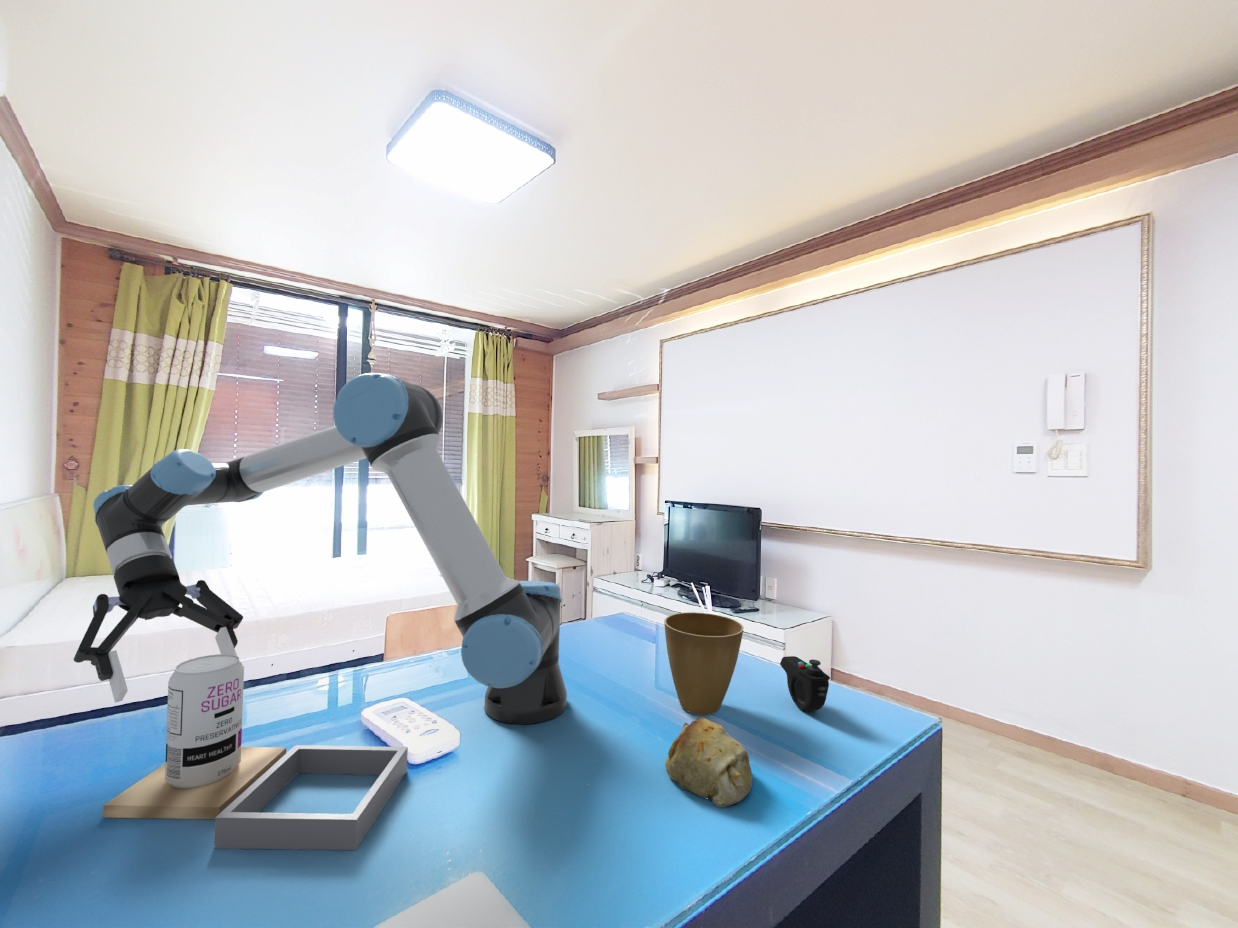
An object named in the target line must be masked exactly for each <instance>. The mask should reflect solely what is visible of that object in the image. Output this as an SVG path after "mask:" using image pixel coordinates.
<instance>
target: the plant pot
mask: <svg viewBox="0 0 1238 928" xmlns="http://www.w3.org/2000/svg"><path fill="white" fill-rule="evenodd" d="M663 624H664V633H665V644H666V651H667V656H668V657H667V658H668V663H669V667H670V668H669V669H670V672H671V677H672V680H673V684H674V688H675V691H676V692H675V693H676V695H677V698H678V702H679V704H680V707H681V708H682V709H683V710H684V711H685V712H688V713H690V712H691V714H693V713H694V714H695V715H699V714H700V716H709V714H710V715H714V714H716V713H717V712H719V711H720V708H721V706H722V704H723V701H724V699H725V696H726V694H727V692H728V689H729V686H730V684H731V682H732V679H733V675H734V672H735V668H736V666H737V661H738V657H739V653H740V648H741V644H742V640H743V639H742V638H743V633H744V626H743V624H742V623H740V622H739V621H737V620H735V619H733V618H731V617H727V616H723V615H720V614H719V615H718V614H713V613H707V612H695V611H691V612H678V613H673V614H670V615H668V616H666V617H665V618H664V623H663Z"/></svg>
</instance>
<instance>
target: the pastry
mask: <svg viewBox="0 0 1238 928" xmlns="http://www.w3.org/2000/svg"><path fill="white" fill-rule="evenodd" d="M664 766H665V770H666V773H667V775H668V777H669V778H670V779H671V780H672V781H674V782H675V783H676V784H678V786H680V787H681V788H683V789H684V790H685V791H688V792H689V793H690V792H691V793H692V794H695V795H696V796H699V797H700V796H701V797H700V798H702V797H703V798H702V799H705V798H708V800H709V801H712V800H713V801H712V804H713V803H714V804H713V805H714V806H716V807H718V808H727V807H729V806H733V805H734V804H738V803H740V802H741V801H742V800H744V798H745V797H746V796H747V795H748V794H749V793H750V792H751V790H752V789H753V786H752V785H753V773H752V767H751V764H750V757H749V752H748V751H747V749H746V748H745V747H744V746H743V745H742V743H740V742H739V741H737V740H736V739H735V738H733V737H731V736H730V735H729V733H728V732H727V730H725V729H724V727H723V726H722V725H720V723H719V724H718V723H716V722H715V721H711V720H709V719H707V718H705V717H700V718H698V719H697V720H693V721H691V722H690V723H684V724H683V726H682V729H681V732H680V733H679V735H677V737H676V738H675V739H674V740H673V741H672V743H671V744H670V747H669V750H668V753H667V757H666V758H665V765H664Z"/></svg>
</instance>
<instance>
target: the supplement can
mask: <svg viewBox="0 0 1238 928" xmlns="http://www.w3.org/2000/svg"><path fill="white" fill-rule="evenodd" d="M244 677H245V666H244V665H243V663H242V662H241V660H240V657H239V656H238V655H237V656H236V655H230V654H221V653H218V654H208V655H204V656H199V657H194V658H190V659H188V660H185V661H183V662H180V663H179V664H177V665H176V666H175V668H174V671H173V672H172V674H171V676H170V677H169V680H168V684H167V685H168V687H167V713H166V718H167V719H166V737H165V738H166V739H165V741H166V742H165V745H166V746H165V763H164V764H165V780H166V781H167V782H168V784H172V785H173V786H174V787H177V788H194V787H200V786H204V785H207V784H211V783H214V782H216V781H218V780H220V779H222V778H224V777H226V776H227V775H229V774H230V773H232V771H233V770H234V769H235V768H236V767H237V766H238V765H239V763H240V762H241V747H242V738H243V737H242V735H243V713H244V712H243V708H244V706H243V705H244V681H245V680H244Z"/></svg>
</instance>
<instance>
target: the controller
mask: <svg viewBox="0 0 1238 928" xmlns="http://www.w3.org/2000/svg"><path fill="white" fill-rule="evenodd" d="M821 664H822V663H821V661H820V660H817V659H809V660H808V663H807V662H806V661H804V660H803V659H802V658H799V657H797V656H794V655H791V656H790V655H789V656H782V658H781V660H780V662H779V665H780V667H781V668H782V670H784V672H785V674H786V679H787V680H786V681H787V689H788V691H789V696H790V697H791V699H792V701H793V703H794V704H795V705H796V707H798V708H799V709H801V710H802V711H804V712H815V711H816V712H817V711H818V710H819V711H820V710H821V709H822V708H823V707H824V705H825V702H826V700H827V696H828V691H829V686H830V683H829V681H830V679H831V677H830V676H829V675H828V674H827V673H825V672H824V671H823V669H821V667H820V665H821Z"/></svg>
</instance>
